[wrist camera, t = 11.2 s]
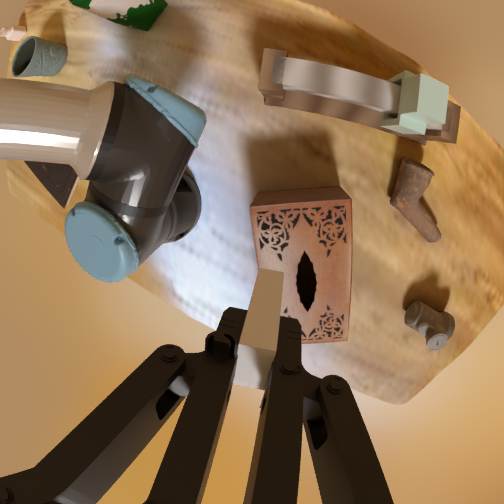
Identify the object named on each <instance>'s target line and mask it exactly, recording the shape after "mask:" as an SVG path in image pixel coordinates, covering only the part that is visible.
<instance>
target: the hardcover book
mask: <svg viewBox="0 0 504 504" xmlns="http://www.w3.org/2000/svg"><path fill="white" fill-rule="evenodd" d="M24 162H25V163H26V164H27V165H28V167H29V168H30V169H31V171H32V172H33V173H34V174H35V176H36V177H37V178H38V179H39V180H40V182H41V183H42V184H43V185H44V186H45V188H46V189H47V190H48V191H49V192H50V194H51V195H52V196H53V197H54V198H55V199H56V201H57V202H58V203H59V204H60V205H61V206H62V207H63V208H64V209H65V206H67V205H68V204H69V202H70V199H71V197H72V194H73V192H74V190H75V187H76V185H77V183H78V180H79V176H78V175H77V173H76V172H75V170H74V169H73V167H72V166H70V165H69V164H60V163H49V162H38V161H24Z"/></svg>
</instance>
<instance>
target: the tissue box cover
mask: <svg viewBox="0 0 504 504" xmlns="http://www.w3.org/2000/svg"><path fill="white" fill-rule="evenodd" d="M249 208H250V215H251V222H252V229H253V236H254V242H255V249H256V256H257V263H258V270H259V268H264V269H269V270H275V271H280V272H284V281H283V292H282V302H281V312H280V316H283V317H289V318H295V319H298V321H299V322H300V324H301V326H302V333H301V335H302V339H301V344H311V343H327V342H340V341H347V339H348V328H349V316H350V302H351V283H352V199H351V198H350V197H349V195H348V194H347V193H346V192H345V191H344V190H343V189H342V188H341V187H340V186H337V187H321V188H307V189H294V190H283V191H272V192H262V193H258V194H257V195H256V197H255V198H254V200H253V202H252V203H251V205H250V207H249Z"/></svg>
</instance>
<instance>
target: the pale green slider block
mask: <svg viewBox="0 0 504 504" xmlns="http://www.w3.org/2000/svg"><path fill="white" fill-rule="evenodd" d="M386 81H388V82H391V83H394V84H397V85H399V86H401V94H400V102H399V110H398V117H397V118H391V117H388V116H389V114H386V113H383V112H382V118H381V124H380V126H381V127H384V128H387V129H390V130H393V131H396V132H399V133H402V134H420V135H425V131H426V124H445V121H446V113H447V103H448V91H449V86H448V85H446V84H444V83H442V82H440V81H438V80H435V79H433V78H431V77H429V76H427V75H425V74H422V73H419V74H414V73H412V72H409V71H407V70H404V71H403V72H401V73H399V74H397V75H395V76H393V77H391V78H390V79H388V80H386Z"/></svg>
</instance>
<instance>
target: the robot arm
mask: <svg viewBox="0 0 504 504" xmlns="http://www.w3.org/2000/svg"><path fill="white" fill-rule="evenodd" d="M123 82H124V84H121V83H117V82H113V81H107V82H105V83H103V84H102V85H100V86H98V87H96V88H95V89H93V90H88V89H83V88H77V87H72V86H66V85H60V84H54V83H46V82H39V81H30V80H20V79H6V78H0V159H7V160H24V161H38V162H49V163H60V164H69V165H70V166H72V167H73V169H74V170H75V172H76V173H77V175H78V176H79V178H80V179H82V180H90V182H89V186H88V190H87V194H86V198H85V200H84V201H83V202H79V203H77V204H76V205H75V206H74V207H73V208H72V209H71V210H70V211H69V213H68V215H67V217H66V220H65V237H66V241H67V244H68V247H69V249H70V252H71V253H72V254H73V256H74V258H75V260H76V261H77V263H78V264H79V265H80V266H81V267H82V269H84V271H86V272H87V273H88V274H89V275H91V276H92V277H94V278H96V279H98V280H100V281H103V282H108V283H111V282H119V281H121V280H123V279H124V278H126V277H127V276H129V275H130V274H132V273H134V272H135V271H136V269H137V268H138V267H139V266H140V265H141V264H142V263H143V262H144V261H145V260H146V259H147V258H148V257H149V256H150V255H151V254H152V253H153V252H154V251H155V250H156V249H158V248H159V247H160V246H161V245H162V244H164V243H170V242H174V241H177V240H179V239H181V238H183V237H184V236H186V235H187V234H188V233H189V232H190V231H191V230H192V229H193V228H194V227H195V225H196V223H197V222H198V219H199V217H200V213H201V196H200V192H199V189H198V187H197V185H196V183H195V181H194V180H193V179H192V177H191V176H190V175H189V174H188V173H187V172H186V171H185V168H186V166H187V164H188V162H189V160H190V157H191V155H192V153H193V151H194V149H195V148H197V147H198V141H199V138H200V136H201V134H202V132H203V129H204V127H205V125H206V115H205V113H204V111H203V110H202V109H200V108H199V107H197V106H196V105H194V104H192V103H190V102H189V101H187V100H185V99H183V98H181V97H180V96H178V95H176V94H174V93H172V92H170V91H168V90H166V89H164V88H162V87H160V86H158V85H156V84H154V83H152V82H150V81H148V80H146V79H144V78H141V77H139V76H137V75H134V74H130V75H128V77H127V78H125V79H124V81H123ZM283 281H284V272H280V271H275V270H269V269H264V268H259V271H258V275H257V278H256V282H255V286H254V290H253V293H252V297H251V301H250V304H249V308H248V310H243V309H239V308H234V307H229V308H228V309H227V310H225V311H224V312H223V315H222V317H221V320H220V323H219V325H218V328H217V330H216V331H214V332H212V333H210V334H208V335H207V337H206V340H205V351H203V352H199V353H185V352H184V351H183V349H181V348H180V347H179V346H176V345H172V344H167V345H163V346H160V347H159V348H157V349H156V350H155V351H154V352H153V353H152V354H151V355H150V356H149V357H148V358H147V359H146V360H145V361H144V362H143V363H142V364H141V365H140V366H139V367H138V368H137V369H136V370H135V371H134V372H132V373H131V374H130V375H129V376H128V377H127V378H126V379H125V380H124V381H123V382H122V383H121V384H120V385H119V386H118V387H117V388H116V389H115V390H114V391H113V392H112V393H111V394H110V395H109V396H108V397H107V398H106V399H105V400H103V402H102V403H100V404H99V406H97V407H96V408H95V409H94V410H93V411H92V412H91V413H90V414H89V415H88V416H87V417H86V418H85V419H84V420H83V421H82V422H81V423H80V424H79V425H78V426H77V427H76V428H75V429H73V430H72V431H71V432H70V433H69V434H68V435H67V436H66V437H65V438H64V439H63V440H62V441H61V442H60V443H59V444H58V445H57V446H56V447H55V448H54V449H53V450H52V451H51V452H49V453H48V454H47V455H46V456H45V457H44V458H43V459H42V460H41V461H40V462H39V463H38V464H37V465H36V466H35V467H34V468H31V469H28V470H25V471H22V472H19V473H15V474H12V475H8V476H5V477H1V478H0V504H96V503H97V502H98V501H99V500H100V499H101V498H102V496H103V495H104V494H105V493H106V492H107V491H108V490H109V489H110V487H111V486H112V485H113V484H114V483H115V482H116V481H117V480H118V478H119V477H120V476H121V475H122V474H123V473H124V471H125V470H126V469H127V468H128V467H129V466H130V464H131V463H132V462H133V461H134V460H135V459H136V457H137V456H138V455H139V454H140V453H141V451H142V450H143V449H144V448H145V447H146V445H147V444H148V443H149V442H150V441H151V439H152V438H153V437H154V436H155V435H156V433H157V432H158V431H159V430H160V428H161V427H162V426H163V425H164V423H165V422H166V421H167V420H168V418H169V417H170V416H171V415H172V413H173V412H174V411H175V409H176V408H177V407H178V406H179V405H180V403H181V402H182V401H183V399H184V398H185V397H186V396H187V399H186V401H185V404H184V406H183V409H182V411H181V414H180V416H179V419H178V422H177V424H176V427H175V429H174V432H173V434H172V437H171V440H170V442H169V445H168V447H167V450H166V452H165V455H164V458H163V460H162V463H161V466H160V468H159V471H158V473H157V476H156V478H155V481H154V484H153V486H152V489H151V491H150V494H149V496H148V498H147V500H146V501H145V502H144V503H143V504H201V502H202V498H203V494H204V491H205V487H206V484H207V480H208V477H209V473H210V469H211V466H212V462H213V458H214V455H215V451H216V447H217V444H218V439H219V436H220V432H221V428H222V425H223V421H224V417H225V414H226V410H227V406H228V402H229V398H230V394H231V388H232V384H236V385H241V386H246V387H251V388H256V389H262V390H265V393H264V397H263V399H262V403H261V406H260V408H261V412H260V417H259V423H258V429H257V435H256V441H255V446H254V451H253V457H252V462H251V468H250V472H249V478H248V483H247V488H246V493H245V497H244V502H243V504H297V494H298V484H299V473H300V460H301V445H302V426H303V424H304V428H305V432H306V436H307V440H308V445H309V449H310V453H311V457H312V461H313V465H314V469H315V474H316V478H317V482H318V486H319V490H320V495H321V499H322V503H323V504H394V503H393V500H392V497H391V494H390V492H389V488H388V485H387V483H386V480H385V477H384V474H383V471H382V468H381V466H380V463H379V460H378V458H377V455H376V452H375V450H374V447H373V444H372V442H371V439H370V436H369V434H368V431H367V429H366V426H365V424H364V421H363V418H362V416H361V413H360V411H359V408H358V406H357V403H356V401H355V398H354V396H353V394H352V391H351V389H350V386H349V384H348V383H347V381H346V380H344V379H343V378H342V377H339V376H337V375H328V376H325V377H324V378H323V379H321V378H318V377H316V376H313V375H311V374H309V373H308V372H307V371H306V370H305V369H304V368H303V365H302V362H301V339H302V335H301V333H302V326H301V324H300V322H299V321H298V319H295V318H289V317H283V316H280V312H281V302H282V292H283Z"/></svg>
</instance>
